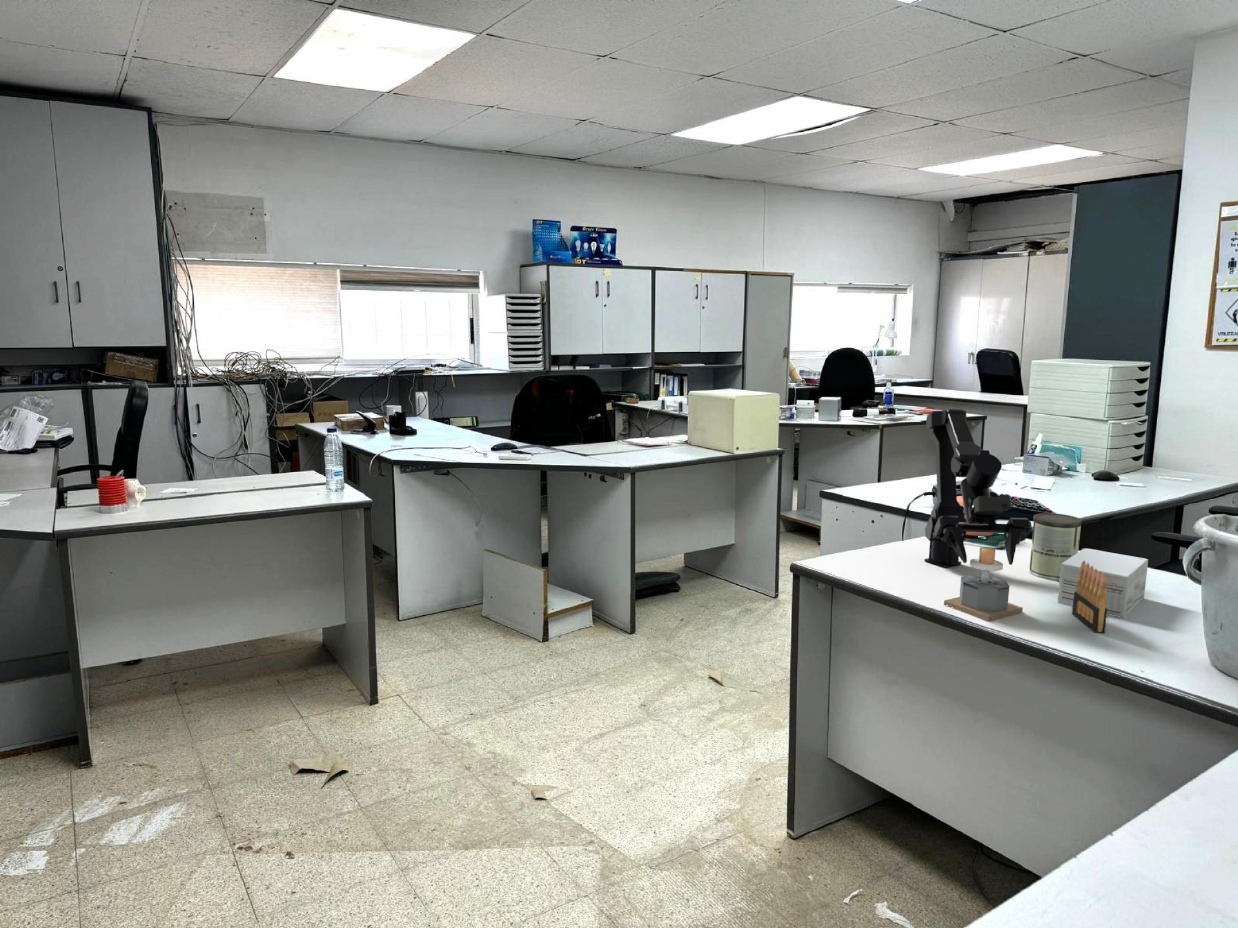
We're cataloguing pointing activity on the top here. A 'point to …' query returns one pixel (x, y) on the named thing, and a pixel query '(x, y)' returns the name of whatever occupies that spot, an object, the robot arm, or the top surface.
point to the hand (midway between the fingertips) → (988, 562)
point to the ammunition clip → (1091, 598)
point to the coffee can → (1053, 543)
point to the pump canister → (984, 598)
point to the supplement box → (1121, 578)
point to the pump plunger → (986, 563)
